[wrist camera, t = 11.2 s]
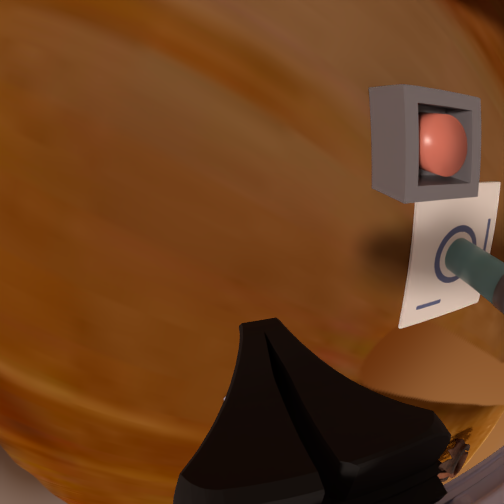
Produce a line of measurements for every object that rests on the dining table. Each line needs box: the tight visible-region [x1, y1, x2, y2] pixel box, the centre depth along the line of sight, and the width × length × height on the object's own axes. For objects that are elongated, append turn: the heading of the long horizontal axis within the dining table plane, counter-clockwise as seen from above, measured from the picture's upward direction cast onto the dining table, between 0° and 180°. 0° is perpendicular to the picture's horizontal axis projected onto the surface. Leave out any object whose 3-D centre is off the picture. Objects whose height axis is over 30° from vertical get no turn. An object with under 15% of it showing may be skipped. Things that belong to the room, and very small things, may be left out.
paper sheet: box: [398, 182, 500, 329], centre depth 24 cm, size 13×11×1 cm
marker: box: [445, 238, 504, 314], centre depth 20 cm, size 3×3×8 cm
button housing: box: [369, 84, 481, 203], centre depth 18 cm, size 7×7×4 cm
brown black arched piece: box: [436, 439, 470, 482], centre depth 42 cm, size 12×10×8 cm
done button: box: [418, 112, 467, 177], centre depth 17 cm, size 4×4×2 cm
